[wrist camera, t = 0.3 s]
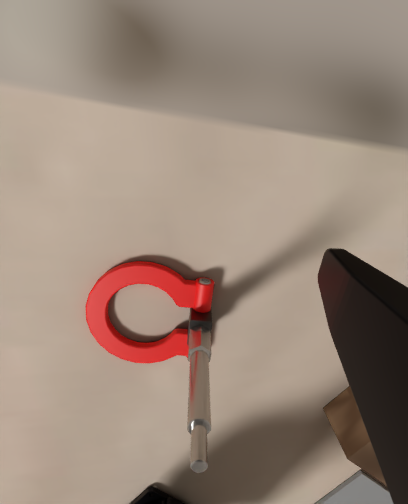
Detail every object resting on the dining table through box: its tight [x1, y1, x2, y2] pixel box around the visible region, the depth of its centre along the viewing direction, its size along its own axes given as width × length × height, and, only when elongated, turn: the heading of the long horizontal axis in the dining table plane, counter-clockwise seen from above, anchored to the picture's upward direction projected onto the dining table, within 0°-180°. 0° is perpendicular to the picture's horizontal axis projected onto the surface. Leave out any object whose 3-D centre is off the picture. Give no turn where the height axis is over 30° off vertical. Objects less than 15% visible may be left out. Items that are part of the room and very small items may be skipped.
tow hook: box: [86, 261, 214, 473], centre depth 21 cm, size 8×13×9 cm
